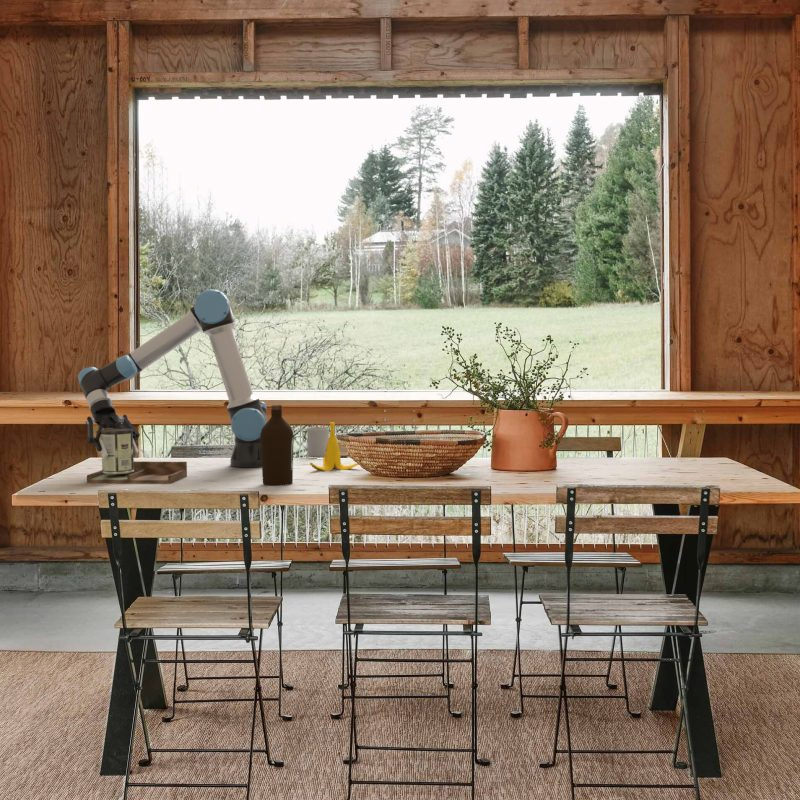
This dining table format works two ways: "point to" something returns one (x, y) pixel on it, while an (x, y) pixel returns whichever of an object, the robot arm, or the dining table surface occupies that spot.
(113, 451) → the coffee can
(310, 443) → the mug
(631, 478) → the dining table surface
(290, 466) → the olive oil
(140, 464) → the tray
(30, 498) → the dining table surface
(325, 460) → the banana peel
